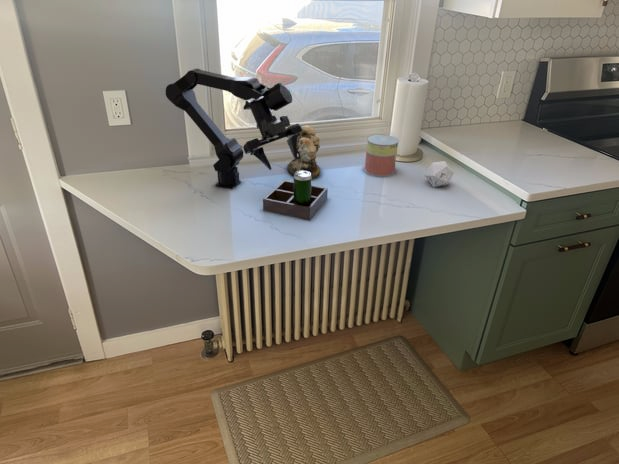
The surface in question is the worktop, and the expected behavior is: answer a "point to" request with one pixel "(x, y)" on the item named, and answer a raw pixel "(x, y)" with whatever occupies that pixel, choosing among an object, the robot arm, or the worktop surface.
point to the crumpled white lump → (439, 174)
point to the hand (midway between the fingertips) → (283, 164)
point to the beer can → (302, 188)
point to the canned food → (381, 155)
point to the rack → (284, 197)
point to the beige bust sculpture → (306, 153)
